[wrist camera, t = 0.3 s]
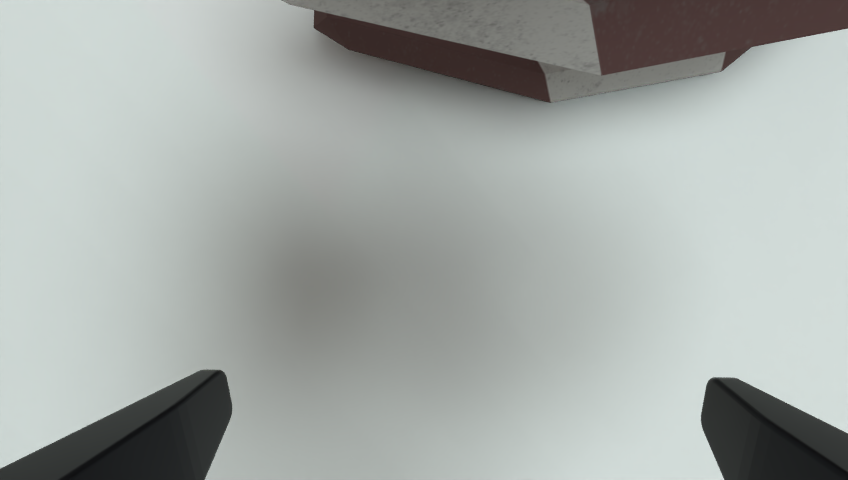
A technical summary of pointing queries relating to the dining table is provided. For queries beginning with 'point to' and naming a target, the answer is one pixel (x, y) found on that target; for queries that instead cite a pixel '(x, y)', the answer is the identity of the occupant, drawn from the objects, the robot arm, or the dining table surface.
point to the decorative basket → (569, 38)
